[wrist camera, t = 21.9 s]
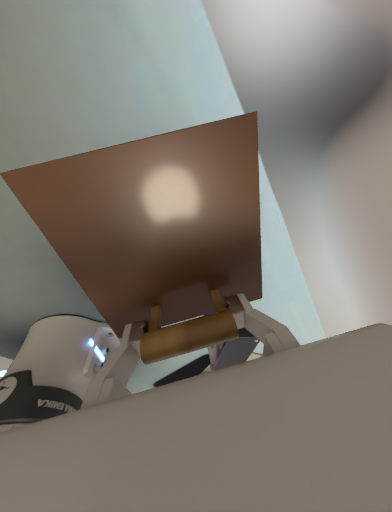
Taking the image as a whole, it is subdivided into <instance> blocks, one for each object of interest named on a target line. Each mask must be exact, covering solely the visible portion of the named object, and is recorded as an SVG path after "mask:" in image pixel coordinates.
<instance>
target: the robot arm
mask: <svg viewBox="0 0 392 512" xmlns="http://www.w3.org/2000/svg"><path fill="white" fill-rule="evenodd" d="M224 302H225V308H226V310H227V309H229V310H230V311H231V312H232V314H233V317H234V319H235V322H236V325H237V328H238V329H241V328H245V329H247V330H248V331H249V332H250V333H252V334H253V335H254V336H255V337H256V338H258V339H259V340H260V341H261V342H263V343H264V350H263V355H264V356H263V357H260V358H256V359H253V360H249V361H246V362H243V363H239V364H236V365H232V366H229V367H225V368H222V369H218V370H215V371H211V372H208V373H205V374H201V375H198V376H194V377H191V378H187V379H184V380H180V381H177V382H173V383H170V384H167V385H163V386H160V387H156V388H153V389H149V390H146V391H142V392H139V393H135V394H132V395H131V392H130V391H129V390H128V389H127V388H126V387H125V386H126V384H127V382H128V380H129V378H130V376H131V374H132V373H133V371H134V369H135V367H136V365H137V363H138V361H139V360H140V357H141V355H140V339H141V336H142V334H144V333H146V332H148V327H149V325H148V323H149V322H148V320H147V319H146V320H142V321H138V322H134V323H130V324H126V326H125V328H124V332H123V336H122V339H121V338H118V337H117V336H116V334H115V333H114V332H113V330H112V329H111V327H110V326H109V325H108V323H102V322H96V321H93V320H90V319H87V318H83V317H78V316H67V315H63V316H53V317H48V318H44V319H42V320H39V321H38V322H36V323H35V324H33V325H32V326H31V328H30V329H29V332H28V334H27V337H26V339H25V341H24V343H23V345H22V347H21V349H20V350H19V352H18V354H17V356H16V357H15V359H14V361H13V362H12V364H11V365H10V367H9V369H8V370H7V371H0V377H2V379H1V380H0V512H392V326H391V325H387V324H381V323H379V324H374V325H370V326H367V327H364V328H360V329H357V330H354V331H350V332H346V333H343V334H339V335H336V336H333V337H329V338H326V339H322V340H319V341H315V342H312V343H308V344H305V345H300V344H299V343H298V341H297V340H296V339H295V337H294V336H293V335H292V333H291V332H290V331H289V329H288V328H287V327H286V326H284V325H283V324H281V323H279V322H277V321H276V320H274V319H272V318H270V317H269V316H267V315H265V314H263V313H262V312H260V311H258V310H256V309H253V308H252V306H251V305H250V303H249V301H248V300H247V298H246V296H245V295H244V293H239V294H235V295H232V296H228V297H225V298H224Z"/></svg>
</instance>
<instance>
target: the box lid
mask: <svg viewBox="0 0 392 512" xmlns="http://www.w3.org/2000/svg"><path fill="white" fill-rule="evenodd" d="M0 175H1V176H2V178H3V179H4V181H5V182H6V183H7V185H8V186H9V187H10V189H11V190H12V192H13V193H14V194H15V196H16V197H17V199H18V200H19V201H20V203H21V204H22V205H23V207H24V208H25V210H26V211H27V212H28V214H29V215H30V217H31V218H32V219H33V221H34V222H35V223H36V225H37V226H38V228H39V229H40V230H41V232H42V233H43V235H44V236H45V237H46V239H47V240H48V241H49V243H50V244H51V246H52V247H53V248H54V250H55V251H56V253H57V254H58V255H59V257H60V258H61V260H62V261H63V262H64V264H65V265H66V266H67V268H68V269H69V271H70V272H71V273H72V275H73V276H74V278H75V279H76V280H77V282H78V283H79V284H80V286H81V287H82V289H83V290H84V291H85V293H86V294H87V296H88V297H89V298H90V300H91V301H92V302H93V304H94V305H95V307H96V308H97V309H98V311H99V312H100V314H101V315H102V316H103V318H104V319H105V320H106V322H107V323H108V325H109V326H110V327H111V329H112V330H113V332H114V333H115V334H116V336H117V337H118V338H122V336H123V332H124V328H125V326H126V324H130V323H134V322H138V321H142V320H146V319H147V320H148V322H149V323H148V325H149V327H148V332H146V333H144V334H142V336H141V339H140V355H141V359H142V361H143V363H144V364H151V363H154V362H158V361H161V360H165V359H168V358H171V357H175V356H178V355H182V354H185V353H189V352H192V351H196V350H199V349H202V348H206V347H209V346H213V345H216V344H220V343H223V342H227V341H230V340H234V339H237V338H239V333H238V328H237V325H236V322H235V319H234V317H233V314H232V312H231V311H230V310H229V309H227V310H226V308H225V302H224V298H225V297H228V296H232V295H235V294H239V293H244V295H245V296H246V298H247V300H248V301H249V302H250V301H254V300H257V299H261V298H262V270H261V236H260V201H259V166H258V131H257V112H252V113H248V114H244V115H239V116H235V117H231V118H227V119H223V120H219V121H215V122H210V123H206V124H202V125H198V126H194V127H190V128H185V129H181V130H177V131H173V132H169V133H165V134H161V135H156V136H152V137H148V138H144V139H140V140H136V141H131V142H127V143H123V144H119V145H115V146H111V147H107V148H102V149H98V150H94V151H90V152H86V153H82V154H77V155H73V156H69V157H65V158H61V159H57V160H53V161H48V162H44V163H40V164H36V165H32V166H28V167H23V168H19V169H15V170H11V171H7V172H3V173H0ZM215 311H216V313H213V314H210V315H206V316H203V317H199V318H196V319H192V320H189V321H185V322H182V323H178V324H174V325H171V326H167V327H164V328H161V327H162V326H165V325H169V324H172V323H176V322H179V321H183V320H186V319H190V318H194V317H197V316H201V315H204V314H208V313H211V312H215Z"/></svg>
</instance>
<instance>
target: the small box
mask: <svg viewBox="0 0 392 512" xmlns="http://www.w3.org/2000/svg"><path fill="white" fill-rule="evenodd" d="M213 313H216V311H215V312H211V313H208V314H205V316H206V315H210V314H213ZM238 333H239V338H237V339H234V340H230V341H227V342H223V343H220V344H216V345H213V346H209V347H208V352H209V356H210V361H211V366H212V370H213V371H215V370H218V369H222V368H225V367H229V366H232V365H236V364H239V363H243V362H246V361H247V359H248V358H249V356H250V355H251V353H252V352H253V350H254V349H255V347H256V346H257V344H258V343H259V341H260V340H259V339H258V338H256V337H255V336H254V335H253V334H252V333H250V332H249V331H248V330H247V329H245V328H241V329H238Z"/></svg>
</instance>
